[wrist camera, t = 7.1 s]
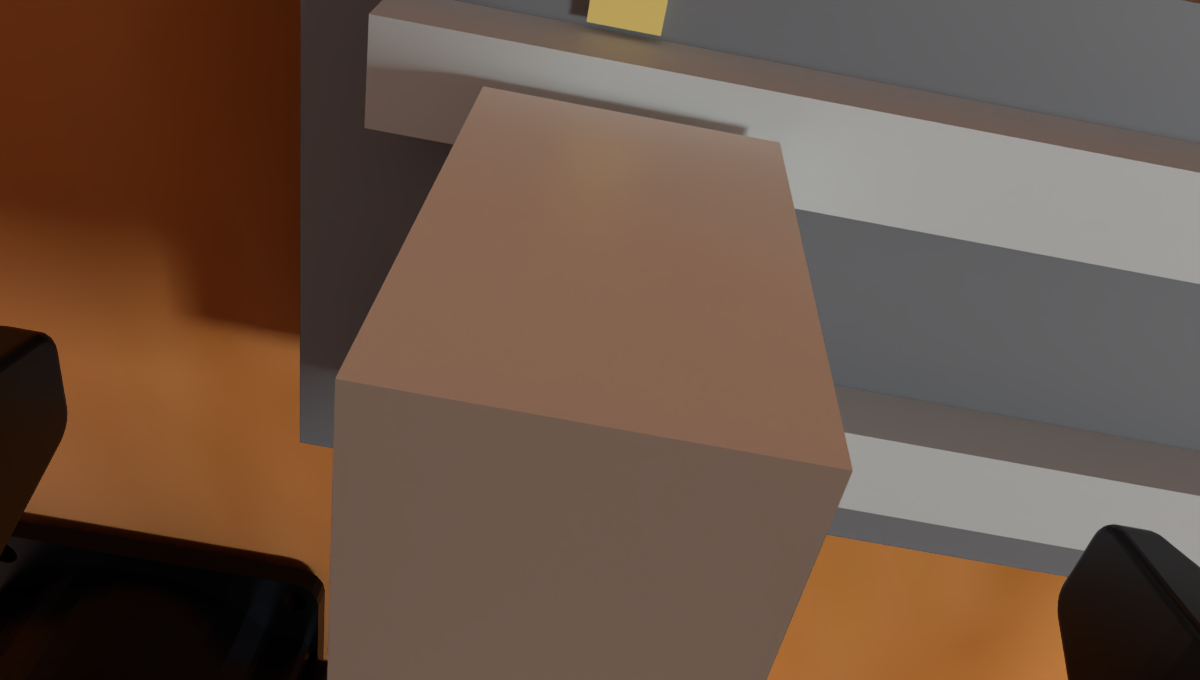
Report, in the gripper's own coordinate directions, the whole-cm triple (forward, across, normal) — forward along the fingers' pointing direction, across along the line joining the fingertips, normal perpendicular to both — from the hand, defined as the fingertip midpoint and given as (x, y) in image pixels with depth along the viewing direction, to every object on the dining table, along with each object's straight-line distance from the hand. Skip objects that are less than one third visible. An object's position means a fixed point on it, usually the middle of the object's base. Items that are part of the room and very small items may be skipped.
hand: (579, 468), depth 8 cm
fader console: (+7, -4, 0) cm, 8 cm away
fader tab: (+4, 0, 0) cm, 4 cm away
